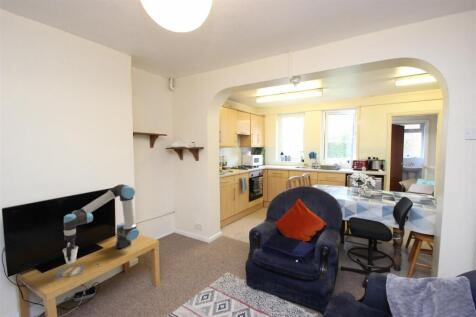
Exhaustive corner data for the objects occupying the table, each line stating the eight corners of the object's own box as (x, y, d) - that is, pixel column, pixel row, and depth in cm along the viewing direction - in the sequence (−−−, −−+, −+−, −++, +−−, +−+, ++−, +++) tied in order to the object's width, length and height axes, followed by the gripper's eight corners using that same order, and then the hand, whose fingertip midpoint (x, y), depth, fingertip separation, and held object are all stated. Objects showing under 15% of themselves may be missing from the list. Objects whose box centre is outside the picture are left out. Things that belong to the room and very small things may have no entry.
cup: (66, 266, 173) (66, 252, 172) (61, 262, 178) (60, 249, 177) (80, 261, 181) (80, 247, 181) (75, 257, 187) (74, 244, 186)
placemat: (85, 264, 192) (85, 264, 192) (81, 275, 178) (81, 274, 178) (59, 269, 184) (59, 269, 184) (53, 280, 170) (53, 280, 170)
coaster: (82, 266, 189) (82, 265, 189) (79, 274, 177) (79, 273, 177) (64, 269, 184) (63, 269, 184) (59, 278, 172) (59, 277, 172)
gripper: (68, 229, 186) (68, 256, 188) (60, 240, 167) (61, 269, 169) (78, 228, 189) (79, 254, 191) (72, 238, 170) (73, 267, 172)
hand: (71, 261), depth 180 cm, fingers closed on cup, 8 cm apart
